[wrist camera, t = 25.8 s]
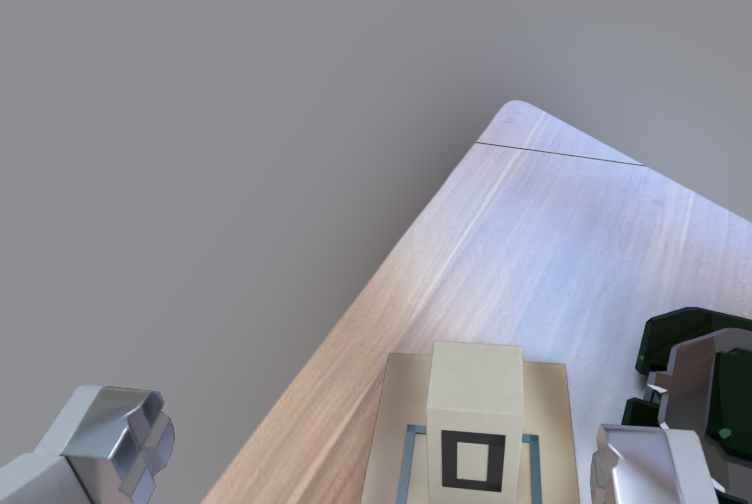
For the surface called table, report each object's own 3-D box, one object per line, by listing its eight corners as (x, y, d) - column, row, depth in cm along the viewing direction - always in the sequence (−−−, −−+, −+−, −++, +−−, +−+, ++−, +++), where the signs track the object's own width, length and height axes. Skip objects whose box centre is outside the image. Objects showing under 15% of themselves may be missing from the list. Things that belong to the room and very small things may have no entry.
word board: (323, 699, 32) (321, 689, 31) (389, 357, 50) (388, 346, 49) (603, 742, 29) (606, 733, 29) (564, 369, 48) (566, 358, 47)
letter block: (428, 521, 38) (425, 408, 32) (435, 452, 42) (433, 339, 36) (512, 530, 37) (524, 416, 31) (511, 459, 41) (522, 345, 35)
